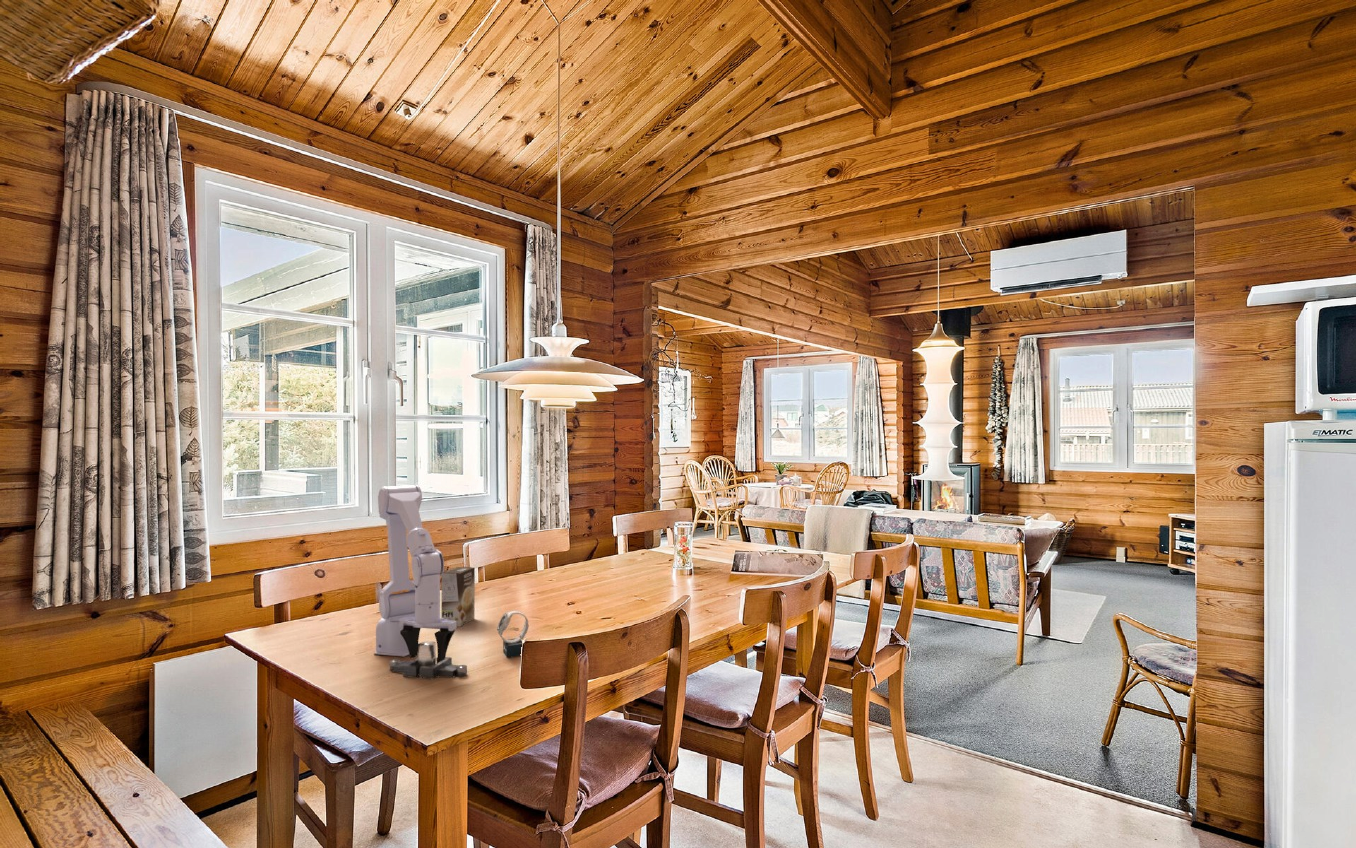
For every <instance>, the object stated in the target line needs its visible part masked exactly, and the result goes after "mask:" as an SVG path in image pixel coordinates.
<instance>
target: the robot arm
mask: <svg viewBox="0 0 1356 848" xmlns="http://www.w3.org/2000/svg"><path fill="white" fill-rule="evenodd" d="M422 501H423V493H422V489H421V488H420V486H419V485H418V484H413V485H400V486H399V485H398V486H396V485H395V486H382V487H381V488H380V489H379V491H378V495H377V505H378V507H377V508H378V515H379V518H380V519H383V520H385V524H386V531H387V547H388V561H389V563H388V564H389V566H388V567H389V576H390V577H389V578H390V581H389V582H388V583H386V585H384V587H383V588H381V590H380V592H379V601H378V609H379V610H378V611H379V614H380V617H381V618H380V619H379V621H378V622H377V625H376V627H375V628H376V629H375V651H374V653H373V654H374V655H383V656H392V657H407V656H409V657H410V659H414V658H415V657H418V644H419V639H420V632H421V629H430V630H431V629H433V630H438V631H436V632H434V638H435V642H436V647H437V653H436V654H437V657H438V660H440V661H441V660H443V659H444V658H445V657H447V652H448V648H449V645H450V642H451V640H452V637H453V635H454V634H455V632H456V630H457V626H456V621H452V620H447V619H443V618H441V576H442V573H443V572H444V571H445V560H444V556H443V553H442V551H441V550H439V548H435V545H434V542H433V540H432V537H431V533H430V531H429V530H428V529H426V528H423V523H422V518H421V514H420V511H419V510H420V508H421V505H422ZM408 550H409V552H408ZM409 553H410V557H411V563H409ZM410 567H411V575H412V580H411V579H410ZM404 591H405V592H404ZM397 592H399V593H397Z"/></svg>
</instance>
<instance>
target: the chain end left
mask: <svg viewBox="0 0 1356 848" xmlns="http://www.w3.org/2000/svg"><path fill="white" fill-rule="evenodd" d="M389 671H392V672H393V673H398V674H399V673H400V674H402V675H403V676H402V677H404V678H405V677H406V678H418V677H420V675H419V666H418V657H417V658H415V659H412V660H402V661H401V659H399V658H398V659H397V658H396V659H395V658H394V659H391V660H389Z"/></svg>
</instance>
